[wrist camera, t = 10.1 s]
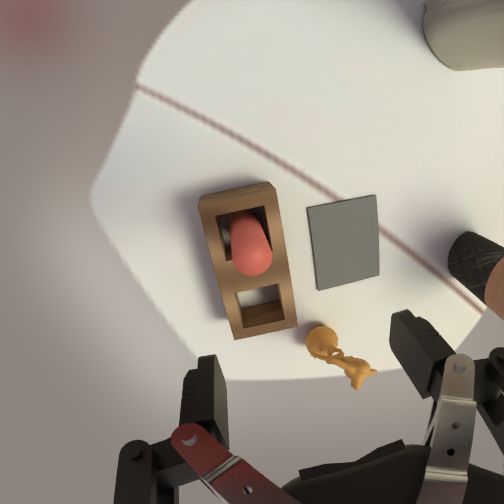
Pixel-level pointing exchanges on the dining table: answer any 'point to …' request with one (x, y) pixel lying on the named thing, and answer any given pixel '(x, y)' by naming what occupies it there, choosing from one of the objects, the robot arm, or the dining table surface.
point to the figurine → (337, 355)
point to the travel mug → (479, 269)
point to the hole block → (234, 281)
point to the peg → (249, 243)
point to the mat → (345, 241)
